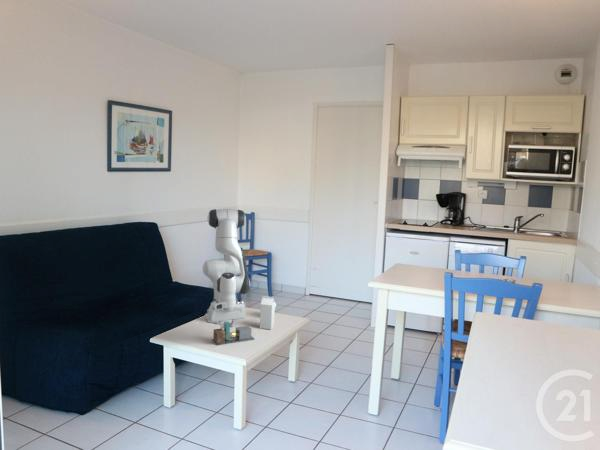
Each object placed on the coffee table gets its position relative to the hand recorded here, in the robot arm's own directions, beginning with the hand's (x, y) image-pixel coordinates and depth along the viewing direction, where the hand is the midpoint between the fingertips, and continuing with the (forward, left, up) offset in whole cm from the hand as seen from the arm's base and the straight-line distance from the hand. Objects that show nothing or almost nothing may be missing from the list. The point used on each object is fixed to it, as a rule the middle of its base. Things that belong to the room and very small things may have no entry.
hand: (226, 327), depth 262 cm
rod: (0, +3, -7) cm, 7 cm away
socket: (0, -4, -8) cm, 9 cm away
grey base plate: (0, +3, -8) cm, 8 cm away
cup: (-29, +39, -8) cm, 50 cm away
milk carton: (-12, +30, -8) cm, 34 cm away
